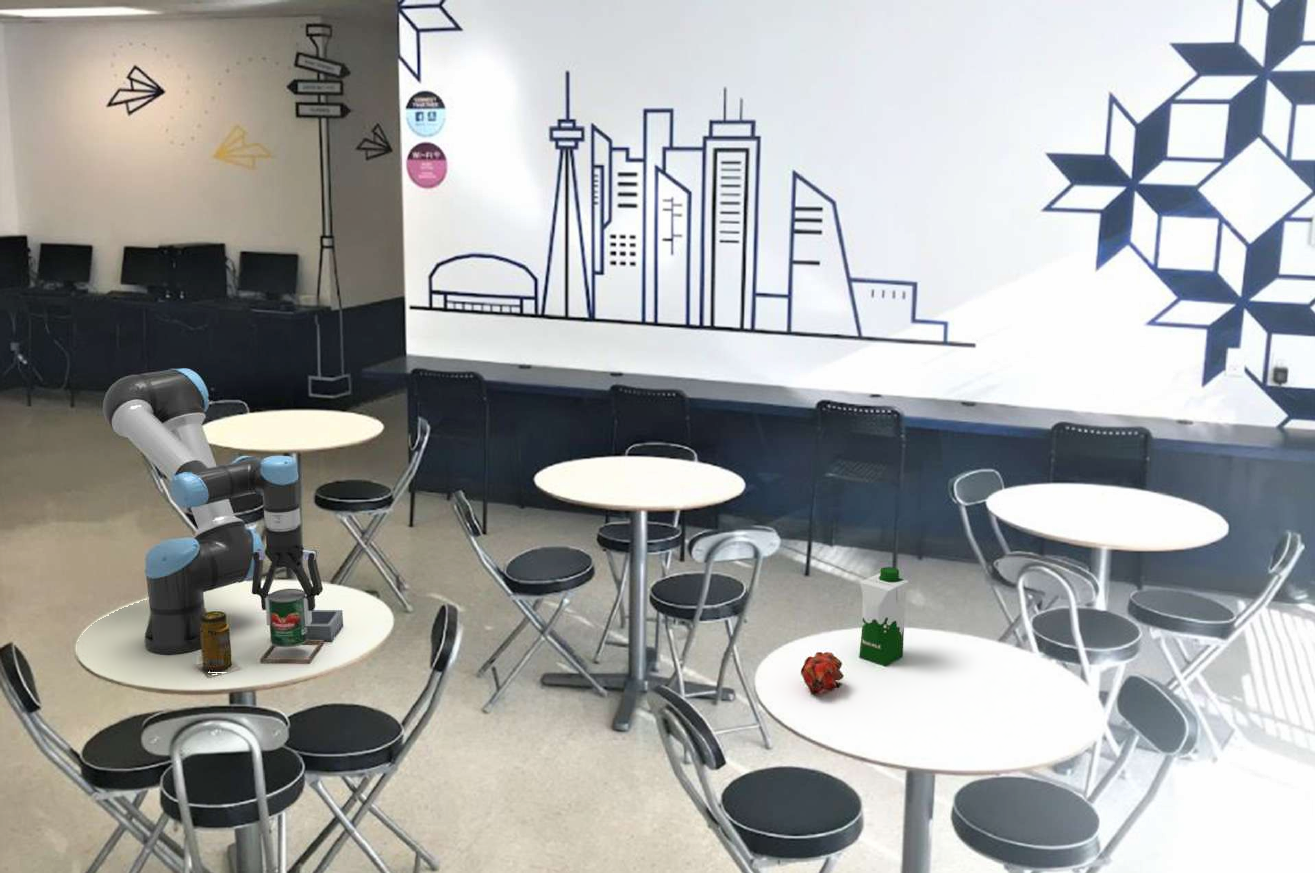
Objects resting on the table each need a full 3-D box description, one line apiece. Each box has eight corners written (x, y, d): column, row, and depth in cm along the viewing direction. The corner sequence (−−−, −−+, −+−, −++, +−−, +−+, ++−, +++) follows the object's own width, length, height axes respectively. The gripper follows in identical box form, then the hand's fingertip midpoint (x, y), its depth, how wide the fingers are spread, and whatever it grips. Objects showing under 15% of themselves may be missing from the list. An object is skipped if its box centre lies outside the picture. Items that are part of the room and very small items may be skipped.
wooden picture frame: (260, 663, 271) (260, 659, 270) (276, 643, 281) (276, 639, 281) (309, 663, 270) (309, 659, 270) (324, 643, 281) (323, 639, 281)
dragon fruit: (830, 683, 264) (819, 715, 253) (798, 659, 264) (787, 690, 253) (854, 659, 260) (844, 690, 249) (822, 634, 260) (811, 664, 249)
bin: (271, 642, 282) (269, 625, 281) (284, 625, 292) (283, 609, 291) (331, 642, 282) (330, 626, 281) (343, 625, 292) (342, 610, 291)
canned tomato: (273, 649, 270) (270, 602, 267) (269, 637, 277) (266, 591, 274) (310, 644, 273) (308, 597, 270) (305, 632, 280) (302, 586, 277)
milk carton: (908, 656, 274) (913, 571, 269) (886, 669, 267) (890, 582, 262) (875, 646, 279) (879, 562, 275) (852, 657, 273) (856, 572, 268)
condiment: (227, 657, 274) (223, 606, 271) (242, 669, 268) (237, 617, 265) (195, 665, 270) (190, 614, 267) (208, 678, 263) (203, 626, 260)
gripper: (230, 531, 265) (237, 629, 271) (325, 532, 265) (330, 630, 271) (242, 520, 273) (249, 616, 278) (334, 521, 272) (340, 617, 278)
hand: (289, 623), depth 274 cm, fingers closed on canned tomato, 8 cm apart
